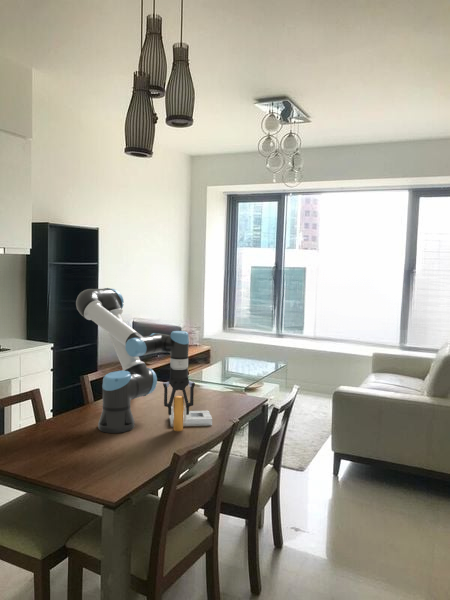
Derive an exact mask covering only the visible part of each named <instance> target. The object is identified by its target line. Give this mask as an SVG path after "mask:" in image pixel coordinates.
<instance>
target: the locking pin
mask: <svg viewBox="0 0 450 600" xmlns="http://www.w3.org/2000/svg"><path fill="white" fill-rule="evenodd" d="M184 403H185V399H184V395H182V396H181V395H176V396H175V395H174V399H173V411H174V427H173V431H175V432H182V431H184V426H183V411H184Z"/></svg>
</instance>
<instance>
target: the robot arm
mask: <svg viewBox="0 0 450 600" xmlns="http://www.w3.org/2000/svg"><path fill="white" fill-rule="evenodd" d="M75 306H76V310H77V311H78V313H79V314H80V315H81V316H82V317H83V318H84V319H86V320H88V321H92V322H93V323H95V324H96V325H97V326H98V327H100V328H102V329H103V330H104V331H105V332H107V333H108V337H109V339H110V341H111V343H112V345H113V348H114V351H115V354H116V355H117V358H118V360H119V362H120V365H121V368H122V370H117V371H116V370H115V371H111V372H108V373H107V374H105V375H104V376H103V377H102V378H103V379H102V385H101V387H102V388H101V389H102V409H101V414H100V416H99V417H100V418H99V420H98V424H97V426H98V428H97V429H98V430H99V431H100V432H102V433H108V434H120V433H126V432H129V431H132V430H133V429H134V428H135V418H134V415H133V413H132V409H131V404H132V403H131V401H132V400H134V399H138V398H141V397H146V396H148V395H150V394H152V393H153V392H154V391H155V389H156V388H157V384H158V377H157V373H156V372H155V371H154V370H153V369H152V368H149V367H147V364H146V363H145V362H144V361H142V360H141V358H140V357H142V356H147V355H151V354H158V353H169V354H170V355H169V356H170V359H169V361H170V365H169V367H170V369H169V370H170V371H169V380H168V381H165V382H164V381H163V382H162V385H163V388H164V392H163V406H164V407H166V408H168V410H167V414H168V416H169V415H171V423H173V411H174V405H173V404H174V397H175V395H176V391H182V396H183V397H184V403H185V405H183V411H184V423H186V415H189V411H190V407H193V406H194V395H195V394H194V392H195V391H194V389H195V386H196V384H195V381H191V380H190V379H189V348H190V346H189V345H190V344H189V343H190V341H189V339H190V338H189V332H187V331H185V330H172V332H171V333H170V334H164V333H159V332H157V333H156V332H153V333H151V334H149V335H145V336H143V335H142V334H141V333H139V332H138V331H136V330H135V329H134V328H132V327H131V326H129V325H128V324H127V323H126V322H125V321H124V319H123V316H122V313H123V307H124V297H123V295H122V294H121V292H120V291H119V290H117V289H115V288H109V287H104V288H87V289H84V290H83V291H81V292H79V294H78V295H77V298H76V301H75ZM169 386H171V389H172V391H171V393H170V398H169V402H168V387H169ZM187 386H189V400H188V395H187V392H186V388H187Z"/></svg>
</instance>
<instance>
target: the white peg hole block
mask: <svg viewBox="0 0 450 600" xmlns="http://www.w3.org/2000/svg"><path fill="white" fill-rule="evenodd" d="M168 416H169V424H170V427H171V428H174V410H173V423H171V415H169V414H168ZM203 426H206V427H207V426H208V427H209V426H213V417H212V415H211V413H210V411H209V410H208V409H207V410H189V415H186V423H184V410H183V427H203Z"/></svg>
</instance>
